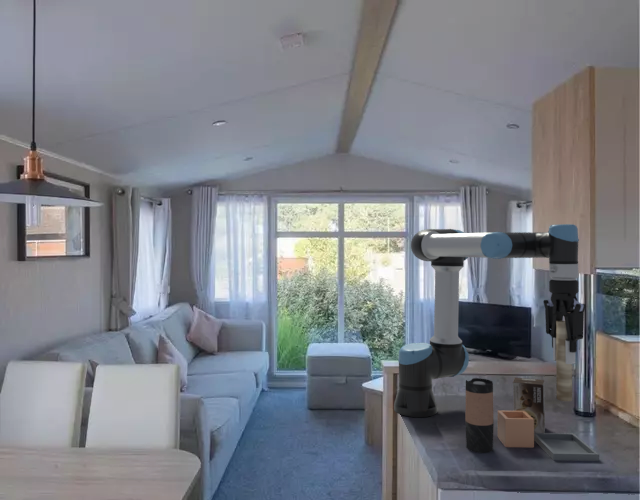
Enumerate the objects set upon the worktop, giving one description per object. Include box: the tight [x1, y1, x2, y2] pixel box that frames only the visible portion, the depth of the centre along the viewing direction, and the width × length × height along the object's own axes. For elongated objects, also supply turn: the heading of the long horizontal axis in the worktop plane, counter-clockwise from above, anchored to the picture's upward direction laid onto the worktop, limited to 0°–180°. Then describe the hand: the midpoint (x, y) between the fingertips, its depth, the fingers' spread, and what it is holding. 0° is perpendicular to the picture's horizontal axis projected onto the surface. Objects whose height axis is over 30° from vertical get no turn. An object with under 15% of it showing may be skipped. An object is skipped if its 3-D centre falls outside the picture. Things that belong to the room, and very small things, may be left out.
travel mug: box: [464, 377, 494, 454], centre depth 151 cm, size 8×8×20 cm
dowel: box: [555, 320, 573, 402], centre depth 150 cm, size 4×4×22 cm
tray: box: [534, 432, 600, 462], centre depth 150 cm, size 16×12×3 cm
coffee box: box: [512, 377, 546, 433], centre depth 167 cm, size 9×6×16 cm
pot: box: [497, 409, 535, 448], centre depth 156 cm, size 8×8×9 cm
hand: (564, 361), depth 150 cm, fingers closed on dowel, 4 cm apart
